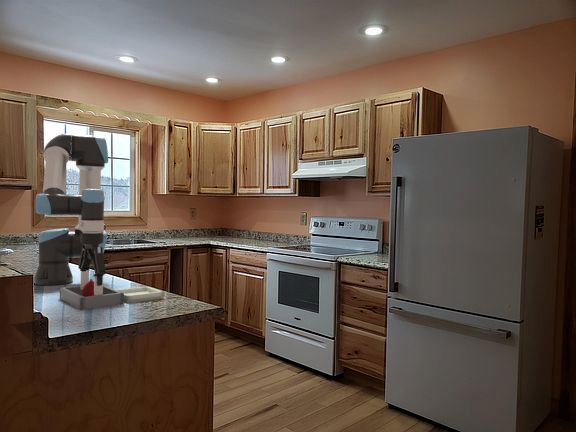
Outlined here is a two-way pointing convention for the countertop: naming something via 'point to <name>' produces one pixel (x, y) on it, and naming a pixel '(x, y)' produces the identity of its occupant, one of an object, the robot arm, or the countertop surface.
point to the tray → (141, 294)
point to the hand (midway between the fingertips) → (91, 291)
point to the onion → (88, 289)
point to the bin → (91, 298)
